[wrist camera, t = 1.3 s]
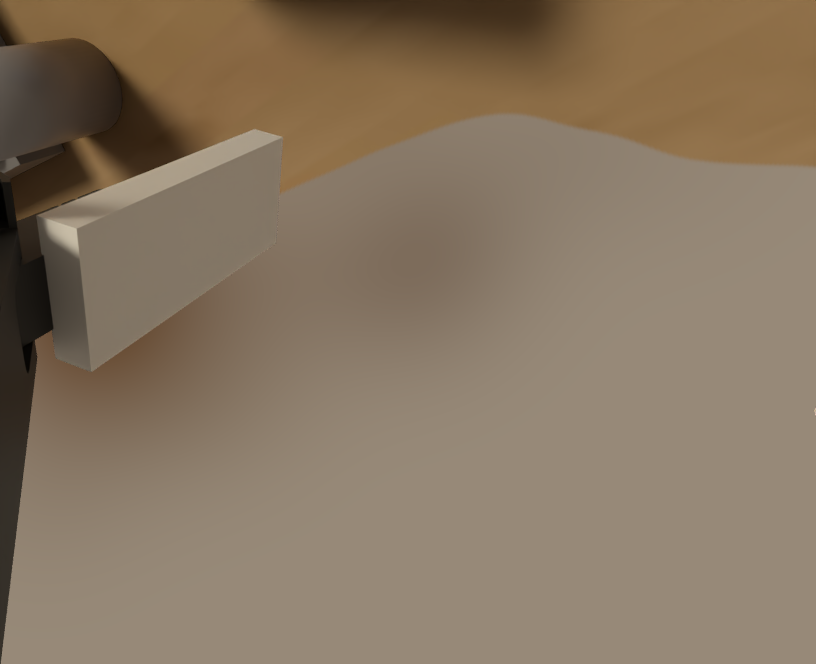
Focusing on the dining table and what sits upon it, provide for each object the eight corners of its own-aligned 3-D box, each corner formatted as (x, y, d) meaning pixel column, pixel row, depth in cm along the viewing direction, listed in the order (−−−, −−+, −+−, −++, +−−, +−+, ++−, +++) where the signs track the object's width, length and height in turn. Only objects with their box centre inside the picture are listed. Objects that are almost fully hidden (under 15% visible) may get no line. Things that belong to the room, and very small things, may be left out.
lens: (32, 59, 46) (-118, 81, 38) (90, 23, 44) (-58, 37, 35) (79, 144, 48) (-54, 183, 40) (137, 114, 46) (8, 150, 37)
